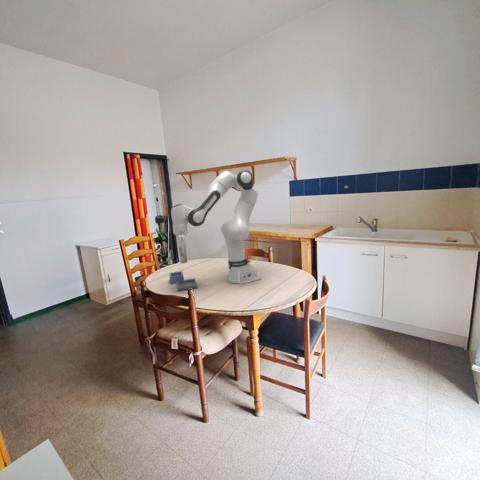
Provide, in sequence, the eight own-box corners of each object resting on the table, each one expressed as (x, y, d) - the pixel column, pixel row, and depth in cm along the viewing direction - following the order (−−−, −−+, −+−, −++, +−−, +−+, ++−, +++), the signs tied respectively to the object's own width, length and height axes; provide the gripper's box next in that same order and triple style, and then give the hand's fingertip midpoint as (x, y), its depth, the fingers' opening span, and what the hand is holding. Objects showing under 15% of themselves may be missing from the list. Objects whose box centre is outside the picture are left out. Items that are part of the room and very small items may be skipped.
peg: (186, 261, 168) (185, 245, 166) (187, 262, 164) (185, 247, 162) (180, 261, 167) (178, 246, 165) (180, 263, 163) (179, 248, 161)
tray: (195, 281, 177) (195, 278, 176) (197, 288, 165) (197, 284, 165) (177, 284, 174) (177, 281, 173) (178, 291, 162) (177, 287, 162)
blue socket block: (183, 277, 186) (182, 271, 185) (184, 282, 178) (183, 275, 177) (170, 279, 184) (169, 273, 183) (170, 284, 176) (169, 277, 175)
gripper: (186, 232, 153) (189, 255, 155) (184, 227, 172) (186, 248, 175) (175, 233, 151) (178, 256, 154) (174, 228, 170) (177, 249, 173)
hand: (183, 252), depth 164 cm, fingers closed on peg, 4 cm apart
